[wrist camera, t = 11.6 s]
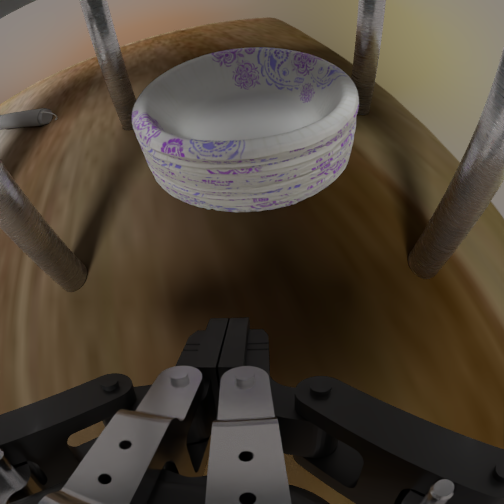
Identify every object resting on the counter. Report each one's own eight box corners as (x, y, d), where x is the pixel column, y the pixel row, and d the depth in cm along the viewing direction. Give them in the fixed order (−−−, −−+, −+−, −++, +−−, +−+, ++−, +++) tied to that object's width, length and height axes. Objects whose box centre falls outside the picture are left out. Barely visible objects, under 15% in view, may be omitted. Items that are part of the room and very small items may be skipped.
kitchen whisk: (46, 134, 32) (28, 100, 27) (-34, 149, 39) (-46, 129, 34) (71, 109, 36) (57, 76, 30) (-17, 130, 42) (-28, 110, 37)
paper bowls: (129, 229, 21) (84, 148, 15) (195, 115, 29) (181, 48, 23) (341, 259, 19) (370, 166, 12) (344, 126, 27) (353, 53, 20)
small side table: (442, 281, 17) (589, 3, 1) (57, 295, 19) (-114, 78, 2) (364, 103, 29) (381, -59, 13) (127, 118, 31) (81, -31, 14)
